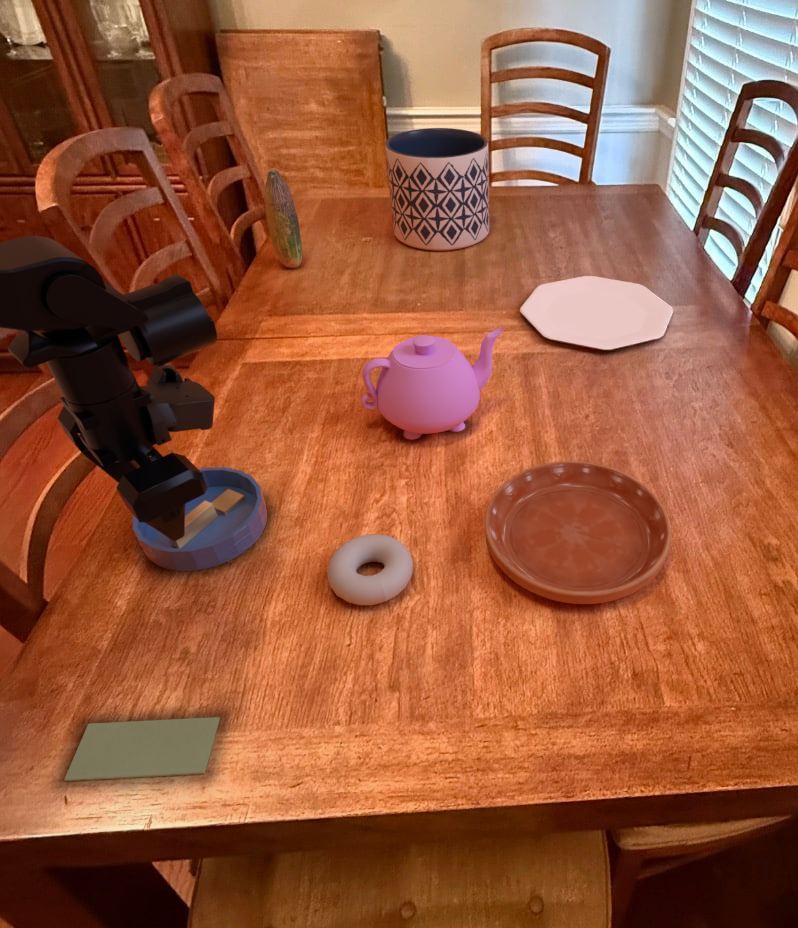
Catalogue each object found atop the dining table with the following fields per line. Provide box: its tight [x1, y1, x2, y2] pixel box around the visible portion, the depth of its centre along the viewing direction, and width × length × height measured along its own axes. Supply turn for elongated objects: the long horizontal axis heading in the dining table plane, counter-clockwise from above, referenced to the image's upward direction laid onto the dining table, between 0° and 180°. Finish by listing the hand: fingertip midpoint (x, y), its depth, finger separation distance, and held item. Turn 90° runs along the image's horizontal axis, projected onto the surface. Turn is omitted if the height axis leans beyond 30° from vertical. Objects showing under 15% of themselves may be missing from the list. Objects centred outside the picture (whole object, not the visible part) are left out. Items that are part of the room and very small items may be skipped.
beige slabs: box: [169, 489, 245, 548], centre depth 88 cm, size 11×3×2 cm, turn 154°
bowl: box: [132, 466, 268, 572], centre depth 88 cm, size 15×15×4 cm
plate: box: [519, 275, 674, 352], centre depth 133 cm, size 28×28×2 cm
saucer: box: [484, 460, 672, 605], centre depth 86 cm, size 23×23×4 cm
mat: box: [63, 716, 221, 782], centre depth 66 cm, size 13×6×1 cm, turn 93°
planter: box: [384, 127, 490, 252], centre depth 157 cm, size 22×22×20 cm
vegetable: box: [263, 169, 304, 269], centre depth 142 cm, size 6×6×20 cm
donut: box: [326, 533, 414, 606], centre depth 82 cm, size 10×3×10 cm
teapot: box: [360, 328, 505, 440], centre depth 103 cm, size 22×16×14 cm
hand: (158, 514), depth 70 cm, fingers open, 9 cm apart
